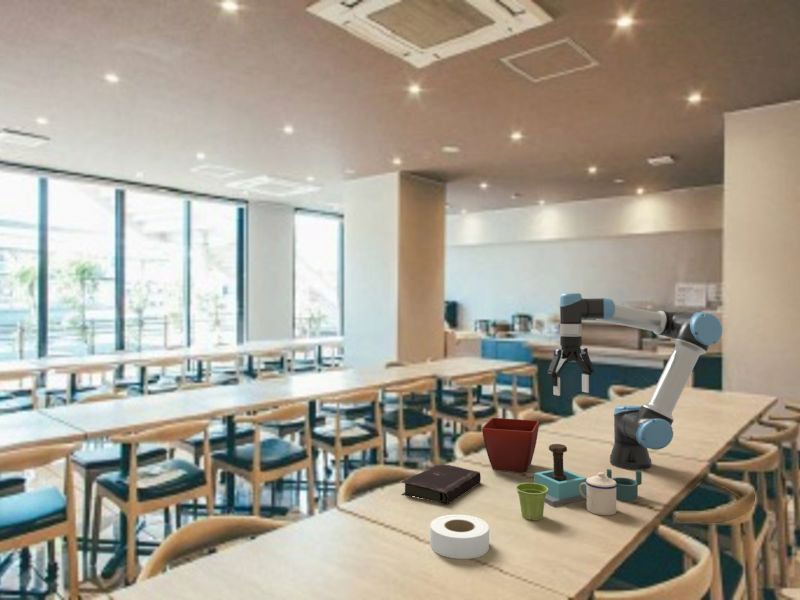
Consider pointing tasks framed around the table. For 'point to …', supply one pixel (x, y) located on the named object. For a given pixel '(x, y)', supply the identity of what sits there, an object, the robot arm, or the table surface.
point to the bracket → (626, 486)
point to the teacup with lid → (600, 494)
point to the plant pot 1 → (510, 443)
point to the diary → (441, 483)
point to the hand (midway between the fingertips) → (571, 393)
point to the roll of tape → (459, 536)
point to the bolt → (558, 461)
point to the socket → (561, 487)
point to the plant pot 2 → (532, 500)
